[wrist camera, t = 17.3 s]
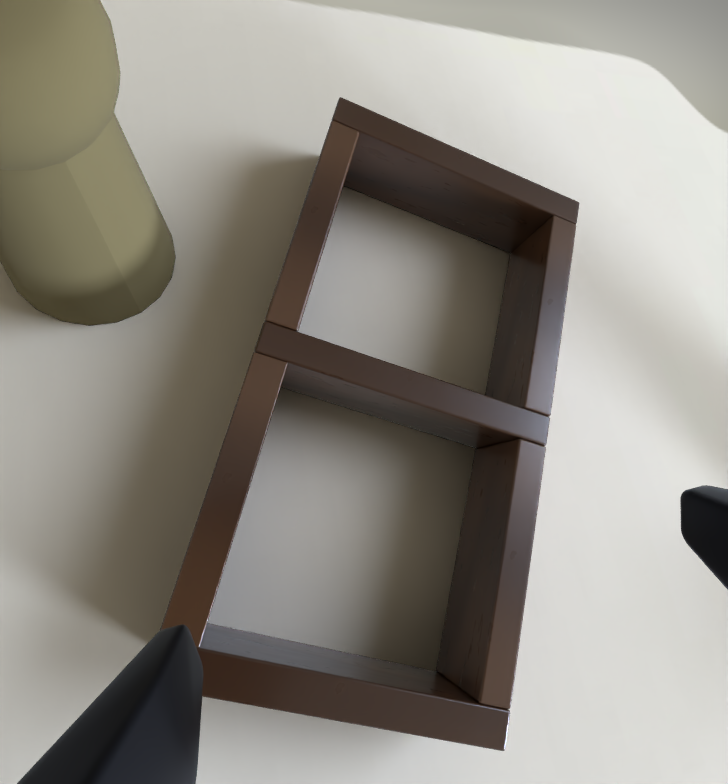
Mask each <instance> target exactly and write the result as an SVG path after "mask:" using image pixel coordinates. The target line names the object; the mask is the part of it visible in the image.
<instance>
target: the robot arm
mask: <svg viewBox="0 0 728 784" xmlns="http://www.w3.org/2000/svg"><path fill="white" fill-rule="evenodd" d="M681 531H682V535H683V537H684V539H685V541H686V543H687V544H688V545H689V546H690V548H691V549H692V550H693V551H694V552H695V553H696V554H697V555H698V557H699V558H700V559H701V560H702V561H703V562H704V563H705V565H706V566H707V567H708V568H709V569H710V570H711V571H712V572H713V574H714V575H715V576H716V577H717V578H718V579H719V580H720V581H721V583H722V584H723V585H724V586H725V587H726V588H727V589H728V489H723V488H718V487H713V486H707V485H706V486H700V487H696V488H692V489H688V490H686V491H684V492H683V493H682V495H681ZM202 689H203V666H202V662H201V659H200V656H199V654H198V651H197V648H196V646H195V643H194V640H193V638H192V635H191V633H190V630H189V629H188V627H187V626H186V625H183V624H181V625H177V626H173V627H170V628H166V629H163V630H161V631H159V632H158V633H157V634H156V635H155V636H154V637H153V638H152V639H151V641H150V642H149V643H148V644H147V645H146V646H145V647H144V648H143V649H142V650H141V651H140V652H139V653H138V654H137V656H136V657H135V658H134V659H133V660H132V661H131V662H130V663H129V664H128V665H127V666H126V667H125V668H124V669H123V671H122V672H121V673H120V674H119V675H118V676H117V677H116V678H115V679H114V680H113V681H112V682H111V683H110V684H109V686H108V687H107V688H106V689H105V690H104V691H103V692H102V693H101V694H100V695H99V696H98V697H97V698H96V699H95V701H94V702H93V703H92V704H91V705H90V706H89V707H88V708H87V709H86V710H85V711H84V712H83V713H82V714H81V716H80V717H79V718H78V719H77V720H76V721H75V722H74V723H73V724H72V725H71V726H70V727H69V728H68V729H67V731H66V732H65V733H64V734H63V735H62V736H61V737H60V738H59V739H58V740H57V741H56V742H55V743H54V745H53V746H52V747H51V748H50V749H49V750H48V751H47V752H46V753H45V754H44V755H43V756H42V757H41V758H40V760H39V761H38V762H37V763H36V764H35V765H34V766H33V767H32V768H31V769H30V770H29V771H28V772H27V773H26V774H25V776H24V777H23V778H22V779H21V780H20V781H19V782H18V783H17V784H195V783H196V776H197V765H198V751H199V736H200V720H201V705H202Z"/></svg>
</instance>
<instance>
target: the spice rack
mask: <svg viewBox="0 0 728 784" xmlns="http://www.w3.org/2000/svg"><path fill="white" fill-rule="evenodd" d="M343 185H344V186H346V187H349V188H351V189H354V190H356V191H359V192H361V193H364V194H366V195H368V196H371V197H373V198H376V199H378V200H381V201H383V202H386V203H388V204H391V205H393V206H396V207H398V208H401V209H403V210H405V211H408V212H410V213H413V214H415V215H418V216H420V217H423V218H425V219H428V220H430V221H433V222H435V223H438V224H440V225H443V226H445V227H447V228H450V229H452V230H455V231H457V232H460V233H462V234H465V235H467V236H470V237H472V238H475V239H477V240H480V241H482V242H484V243H487V244H489V245H492V246H494V247H497V248H499V249H502V250H504V251H507V252H509V253H511V255H510V260H509V266H508V271H507V277H506V282H505V288H504V294H503V299H502V305H501V310H500V316H499V322H498V327H497V333H496V338H495V344H494V349H493V355H492V361H491V366H490V372H489V377H488V383H487V389H486V394H485V395H483V394H480V393H477V392H474V391H471V390H468V389H465V388H462V387H459V386H456V385H453V384H450V383H447V382H444V381H442V380H439V379H436V378H433V377H430V376H427V375H424V374H421V373H418V372H415V371H412V370H409V369H406V368H403V367H400V366H397V365H394V364H391V363H388V362H385V361H382V360H379V359H376V358H373V357H370V356H367V355H365V354H362V353H359V352H356V351H353V350H350V349H347V348H344V347H341V346H338V345H335V344H332V343H329V342H326V341H323V340H320V339H317V338H314V337H311V336H308V335H305V334H302V333H299V332H298V330H299V326H300V323H301V320H302V317H303V314H304V310H305V307H306V304H307V301H308V297H309V294H310V291H311V288H312V285H313V281H314V278H315V275H316V272H317V269H318V265H319V262H320V259H321V256H322V253H323V249H324V246H325V243H326V240H327V237H328V233H329V230H330V227H331V224H332V220H333V217H334V214H335V211H336V208H337V204H338V201H339V198H340V195H341V192H342V188H343ZM578 209H579V202H577V201H575V200H572V199H570V198H568V197H566V196H563V195H561V194H559V193H557V192H554V191H552V190H550V189H547V188H545V187H543V186H541V185H538V184H536V183H534V182H532V181H529V180H527V179H525V178H523V177H520V176H518V175H516V174H513V173H511V172H509V171H507V170H504V169H502V168H500V167H498V166H495V165H493V164H491V163H489V162H486V161H484V160H482V159H479V158H477V157H475V156H473V155H470V154H468V153H466V152H464V151H461V150H459V149H457V148H455V147H452V146H450V145H448V144H445V143H443V142H441V141H439V140H436V139H434V138H432V137H430V136H427V135H425V134H423V133H421V132H418V131H416V130H414V129H411V128H409V127H407V126H405V125H402V124H400V123H398V122H396V121H393V120H391V119H389V118H387V117H384V116H382V115H380V114H377V113H375V112H373V111H371V110H368V109H366V108H364V107H362V106H359V105H357V104H355V103H353V102H350V101H348V100H346V99H343V98H341V97H340V98H339V100H338V103H337V106H336V109H335V112H334V115H333V118H332V121H331V124H330V127H329V130H328V133H327V136H326V139H325V142H324V145H323V148H322V151H321V154H320V156H319V159H318V162H317V165H316V168H315V171H314V174H313V177H312V180H311V183H310V186H309V189H308V192H307V195H306V198H305V201H304V204H303V207H302V210H301V213H300V216H299V219H298V222H297V225H296V228H295V231H294V234H293V237H292V240H291V243H290V246H289V249H288V252H287V255H286V258H285V261H284V264H283V266H282V269H281V272H280V275H279V278H278V281H277V284H276V287H275V290H274V293H273V296H272V299H271V302H270V305H269V308H268V311H267V314H266V317H265V321H264V323H263V326H262V329H261V332H260V335H259V338H258V341H257V344H256V347H255V350H254V353H253V355H252V358H251V361H250V364H249V367H248V370H247V373H246V376H245V379H244V382H243V385H242V388H241V391H240V394H239V397H238V400H237V403H236V406H235V409H234V412H233V415H232V418H231V421H230V424H229V427H228V430H227V433H226V436H225V439H224V442H223V445H222V448H221V451H220V454H219V457H218V460H217V463H216V465H215V468H214V471H213V474H212V477H211V480H210V483H209V486H208V489H207V492H206V495H205V498H204V501H203V504H202V507H201V510H200V513H199V516H198V519H197V522H196V525H195V528H194V531H193V534H192V537H191V540H190V543H189V546H188V549H187V552H186V555H185V558H184V561H183V564H182V567H181V570H180V572H179V575H178V578H177V581H176V584H175V587H174V590H173V593H172V596H171V599H170V602H169V605H168V608H167V611H166V614H165V617H164V620H163V623H162V626H161V629H160V631H161V630H163V629H166V628H170V627H173V626H177V625H181V624H183V625H186V626H187V627H188V629H189V630H190V633H191V635H192V638H193V640H194V643H195V646H196V648H197V651H198V654H199V656H200V659H201V662H202V666H203V689H202V696H203V697H208V698H214V699H219V700H225V701H230V702H236V703H241V704H247V705H252V706H258V707H263V708H269V709H274V710H280V711H285V712H291V713H296V714H302V715H307V716H313V717H318V718H324V719H329V720H335V721H340V722H346V723H351V724H357V725H362V726H368V727H373V728H379V729H384V730H390V731H395V732H401V733H406V734H412V735H417V736H423V737H428V738H434V739H439V740H445V741H450V742H456V743H461V744H467V745H472V746H478V747H483V748H489V749H494V750H500V751H504V750H505V746H506V739H507V731H508V724H509V716H510V711H509V710H508V709H510V707H511V701H512V693H513V686H514V679H515V671H516V664H517V657H518V649H519V642H520V634H521V627H522V620H523V612H524V605H525V598H526V590H527V583H528V575H529V568H530V561H531V553H532V546H533V539H534V531H535V524H536V517H537V509H538V502H539V494H540V487H541V480H542V472H543V465H544V458H545V450H546V448H545V447H544V446H545V445H546V443H547V436H548V428H549V421H550V418H549V417H548V416H550V415H551V407H552V400H553V393H554V385H555V378H556V371H557V363H558V356H559V348H560V341H561V334H562V326H563V319H564V312H565V304H566V297H567V289H568V282H569V275H570V267H571V260H572V253H573V245H574V238H575V230H576V223H577V216H578ZM281 387H282V388H285V389H289V390H292V391H295V392H298V393H301V394H305V395H308V396H311V397H314V398H317V399H321V400H324V401H327V402H330V403H333V404H337V405H340V406H343V407H346V408H349V409H353V410H356V411H359V412H362V413H365V414H369V415H372V416H375V417H378V418H381V419H385V420H388V421H391V422H394V423H397V424H401V425H404V426H407V427H410V428H413V429H416V430H420V431H423V432H426V433H429V434H432V435H436V436H439V437H442V438H445V439H448V440H452V441H455V442H458V443H461V444H464V445H468V446H471V447H474V448H477V449H476V451H475V456H474V462H473V468H472V473H471V479H470V484H469V490H468V496H467V501H466V507H465V512H464V518H463V524H462V529H461V535H460V540H459V546H458V551H457V557H456V563H455V568H454V574H453V579H452V585H451V591H450V596H449V602H448V607H447V613H446V619H445V624H444V630H443V635H442V641H441V647H440V652H439V658H438V663H437V671H438V672H436V671H431V670H426V669H422V668H417V667H412V666H408V665H403V664H398V663H393V662H389V661H384V660H379V659H374V658H370V657H365V656H360V655H355V654H351V653H346V652H341V651H336V650H332V649H327V648H322V647H317V646H313V645H308V644H303V643H298V642H294V641H289V640H284V639H280V638H275V637H270V636H265V635H261V634H256V633H251V632H246V631H242V630H237V629H232V628H227V627H223V626H218V625H213V624H208V623H207V622H208V619H209V615H210V612H211V609H212V606H213V603H214V599H215V596H216V593H217V590H218V587H219V583H220V580H221V577H222V574H223V571H224V567H225V564H226V561H227V558H228V554H229V551H230V548H231V545H232V542H233V538H234V535H235V532H236V529H237V526H238V522H239V519H240V516H241V513H242V510H243V506H244V503H245V500H246V497H247V493H248V490H249V487H250V484H251V481H252V477H253V474H254V471H255V468H256V465H257V461H258V458H259V455H260V452H261V449H262V445H263V442H264V439H265V436H266V432H267V429H268V426H269V423H270V420H271V416H272V413H273V410H274V407H275V404H276V400H277V397H278V394H279V391H280V388H281Z"/></svg>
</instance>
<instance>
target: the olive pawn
mask: <svg viewBox="0 0 728 784" xmlns="http://www.w3.org/2000/svg"><path fill="white" fill-rule="evenodd" d="M119 82H120V68H119V62H118V56H117V50H116V44H115V39H114V34H113V30H112V25H111V21H110V19H109V17H108V15H107V13H106V11H105V9H104V7H103V5H102V3H101V1H100V0H0V262H1V263H2V265H3V267H4V269H5V271H6V272H7V274H8V276H9V278H10V280H11V281H12V283H13V285H14V287H15V288H16V290H17V292H18V293H19V294H20V295H21V296H23V297H24V298H25V299H26V300H27V301H28V302H29V303H30V304H31V305H33V306H34V307H35V308H36V309H37V310H39V311H41V312H44V313H46V314H48V315H50V316H52V317H54V318H57V319H59V320H61V321H65V322H72V323H78V324H84V325H97V324H106V323H115V322H119V321H121V320H124V319H126V318H129V317H131V316H134V315H136V314H138V313H141V312H142V311H143V310H145V309H146V308H147V307H148V306H150V305H151V304H152V303H153V302H154V301H156V300H157V299H158V298H159V297H160V296H161V294H162V293H163V291H164V289H165V288H166V286H167V285H168V283H169V281H170V280H171V278H172V273H173V268H174V262H175V251H174V246H173V240H172V235H171V233H170V231H169V229H168V227H167V225H166V223H165V220H164V218H163V216H162V214H161V212H160V210H159V208H158V206H157V203H156V201H155V199H154V197H153V195H152V193H151V191H150V189H149V186H148V184H147V182H146V180H145V178H144V176H143V174H142V171H141V169H140V167H139V165H138V163H137V161H136V159H135V157H134V154H133V152H132V150H131V148H130V146H129V144H128V142H127V140H126V137H125V135H124V133H123V131H122V129H121V127H120V125H119V122H118V120H117V118H116V116H115V114H114V109H115V105H116V101H117V97H118V93H119Z"/></svg>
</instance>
